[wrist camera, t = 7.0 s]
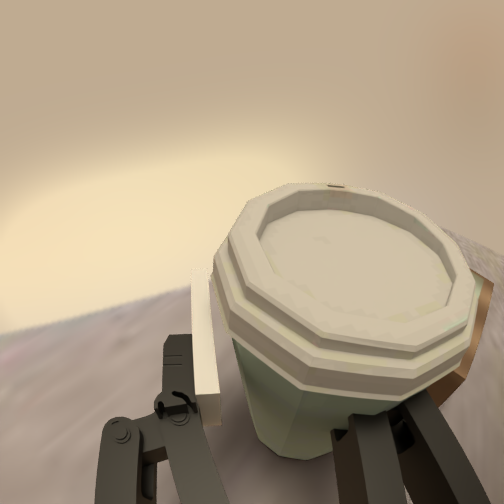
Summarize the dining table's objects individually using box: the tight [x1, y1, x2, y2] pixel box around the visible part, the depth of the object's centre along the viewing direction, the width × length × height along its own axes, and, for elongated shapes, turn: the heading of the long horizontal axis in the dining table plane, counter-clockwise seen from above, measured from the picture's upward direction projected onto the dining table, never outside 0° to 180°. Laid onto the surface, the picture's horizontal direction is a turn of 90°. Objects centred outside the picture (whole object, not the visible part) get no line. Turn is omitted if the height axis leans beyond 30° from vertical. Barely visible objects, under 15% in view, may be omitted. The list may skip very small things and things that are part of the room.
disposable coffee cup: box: [211, 183, 478, 460], centre depth 13 cm, size 11×11×15 cm
